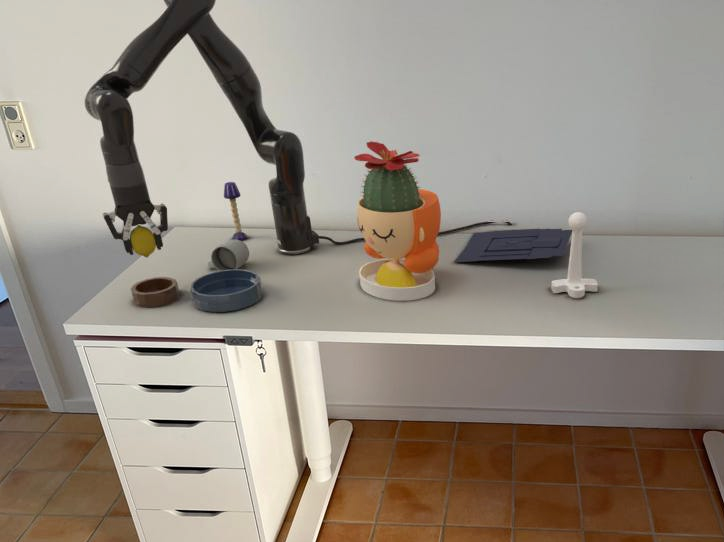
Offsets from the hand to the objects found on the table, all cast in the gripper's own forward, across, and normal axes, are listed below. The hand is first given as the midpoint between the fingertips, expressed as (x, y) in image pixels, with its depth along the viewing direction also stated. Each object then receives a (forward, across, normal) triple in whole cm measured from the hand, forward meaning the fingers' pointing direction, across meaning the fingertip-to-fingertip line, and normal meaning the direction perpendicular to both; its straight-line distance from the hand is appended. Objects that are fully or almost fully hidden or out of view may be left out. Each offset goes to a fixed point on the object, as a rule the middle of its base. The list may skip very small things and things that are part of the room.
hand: (145, 251), depth 170 cm
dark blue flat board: (+13, +92, -22) cm, 95 cm away
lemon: (+2, 0, 0) cm, 2 cm away
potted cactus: (+13, +56, -24) cm, 62 cm away
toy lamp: (+13, +29, +32) cm, 45 cm away
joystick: (+13, +89, -53) cm, 104 cm away
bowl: (+12, +15, -10) cm, 22 cm away
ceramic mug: (+13, +20, +10) cm, 26 cm away
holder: (+12, 0, 0) cm, 12 cm away
